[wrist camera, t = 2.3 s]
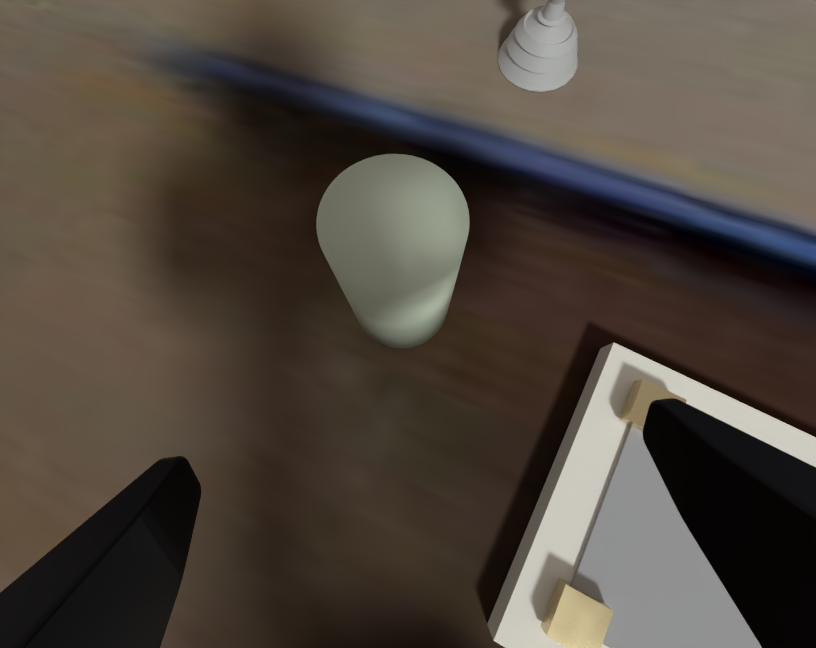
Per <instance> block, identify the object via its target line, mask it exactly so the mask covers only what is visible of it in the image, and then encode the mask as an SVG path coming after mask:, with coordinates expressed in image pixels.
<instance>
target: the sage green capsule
mask: <svg viewBox="0 0 816 648" xmlns="http://www.w3.org/2000/svg"><path fill="white" fill-rule="evenodd" d="M469 223H470V219H469V210H468V206H467V202H466V200H465V197H464V195H463V193H462V191H461V189H460V188H459V186H458V185H457V183H456V182H455V181H454V180H453V179H452V178H451V177H450V176H449V175H448V174H447V173H446V172H445V171H444V170H442V169H441V168H440V167H438V166H437V165H435V164H433V163H431V162H429V161H427V160H424V159H422V158H419V157H415V156H411V155H405V154H384V155H378V156H373V157H370V158H366V159H364V160H362V161H359V162H357V163H355V164H353V165H352V166H350V167H348V168H347V169H346V170H344V171H343V172H342V173H341V174H339V175H338V176H337V177H336V178H335V179H334V180H333V182H332V183H331V184H330V185H329V187H328V188H327V190H326V191H325V193H324V195H323V197H322V199H321V202H320V205H319V208H318V212H317V219H316V229H317V237H318V240H319V244H320V247H321V249H322V251H323V253H324V256H325V258H326V259H327V261H328V263H329V265H330V267H331V269H332V271H333V273H334V275H335V277H336V279H337V281H338V283H339V285H340V287H341V289H342V291H343V293H344V294H345V296H346V298H347V300H348V302H349V304H350V306H351V308H352V310H353V312H354V314H355V316H356V318H357V320H358V322H359V324H360V326H361V327H362V329H363V330H364V332H365V333H366V334H367V335H368V336H369V337H370V338H371V339H373V340H374V341H375V342H377V343H379V344H381V345H383V346H386V347H389V348H394V349H408V348H413V347H416V346H419V345H421V344H424V343H425V342H427V341H429V340H430V339H431V338H432V337H434V336H435V335H436V333H437V332H438V331H439V330H440V328H441V327H442V325H443V323H444V321H445V318H446V315H447V312H448V308H449V304H450V301H451V297H452V293H453V290H454V286H455V282H456V279H457V275H458V271H459V267H460V264H461V260H462V256H463V253H464V249H465V245H466V242H467V238H468V233H469Z"/></svg>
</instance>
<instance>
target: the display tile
mask: <svg viewBox="0 0 816 648" xmlns="http://www.w3.org/2000/svg"><path fill="white" fill-rule="evenodd" d="M668 398H675V399H678V400H681V401H683V402H685V403H687V404H689V405H691V406H693V407H695V408H697V409H699V410H701V411H703V412H705V413H707V414H709V415H711V416H713V417H715V418H717V419H719V420H721V421H723V422H725V423H727V424H729V425H731V426H733V427H735V428H737V429H739V430H741V431H743V432H745V433H747V434H749V435H751V436H753V437H755V438H757V439H759V440H761V441H764V442H766V443H768V444H770V445H772V446H774V447H776V448H778V449H780V450H782V451H784V452H786V453H788V454H790V455H792V456H794V457H796V458H798V459H800V460H802V461H804V462H806V463H808V464H810V465H812V466H814V467H816V437H814V436H812V435H810V434H807V433H805V432H803V431H801V430H799V429H797V428H795V427H793V426H790V425H788V424H786V423H784V422H782V421H780V420H778V419H776V418H773V417H771V416H769V415H767V414H765V413H763V412H761V411H759V410H756V409H754V408H752V407H750V406H748V405H746V404H744V403H742V402H739V401H737V400H735V399H733V398H731V397H729V396H727V395H725V394H722V393H720V392H718V391H716V390H714V389H712V388H710V387H708V386H705V385H703V384H701V383H699V382H697V381H695V380H693V379H691V378H688V377H686V376H684V375H682V374H680V373H678V372H676V371H674V370H671V369H669V368H667V367H665V366H663V365H661V364H659V363H657V362H654V361H652V360H650V359H648V358H646V357H644V356H642V355H640V354H637V353H635V352H633V351H631V350H629V349H627V348H625V347H623V346H620V345H618V344H616V343H611V344H609V345H607V346H605V347H603V348H600V350H599V353H598V355H597V358H596V360H595V362H594V365H593V367H592V370H591V372H590V375H589V377H588V380H587V382H586V384H585V387H584V389H583V392H582V394H581V397H580V399H579V401H578V404H577V406H576V409H575V411H574V414H573V416H572V419H571V421H570V423H569V426H568V428H567V431H566V433H565V436H564V438H563V440H562V443H561V445H560V448H559V450H558V453H557V455H556V458H555V460H554V462H553V465H552V467H551V470H550V472H549V475H548V477H547V479H546V482H545V484H544V487H543V489H542V492H541V494H540V496H539V499H538V501H537V504H536V506H535V509H534V511H533V514H532V516H531V518H530V521H529V523H528V526H527V528H526V531H525V533H524V535H523V538H522V540H521V543H520V545H519V548H518V550H517V553H516V555H515V557H514V560H513V562H512V565H511V567H510V570H509V572H508V574H507V577H506V579H505V582H504V584H503V587H502V589H501V592H500V594H499V596H498V599H497V601H496V604H495V606H494V609H493V611H492V613H491V616H490V618H489V621H488V623H487V625H488V627H489V630H490V632H491V635H492V638H493V640H494V641H495V642H497V643H498V644H500V645H502V646H503V647H505V648H762V647H761V645H760V644H759V642H758V641H757V639H756V637H755V636H754V634H753V632H752V631H751V629H750V628H749V626H748V624H747V623H746V621H745V620H744V618H743V616H742V615H741V613H740V612H739V610H738V608H737V607H736V605H735V603H734V602H733V600H732V599H731V597H730V595H729V594H728V592H727V591H726V589H725V587H724V586H723V584H722V582H721V581H720V579H719V578H718V576H717V574H716V573H715V571H714V570H713V568H712V566H711V565H710V563H709V561H708V560H707V558H706V557H705V555H704V553H703V552H702V550H701V549H700V547H699V545H698V544H697V542H696V541H695V539H694V537H693V536H692V534H691V532H690V531H689V529H688V527H687V526H686V524H685V522H684V521H683V519H682V517H681V515H680V514H679V512H678V510H677V508H676V506H675V504H674V502H673V500H672V498H671V496H670V494H669V492H668V490H667V488H666V486H665V484H664V482H663V480H662V478H661V476H660V474H659V472H658V469H657V467H656V465H655V463H654V461H653V459H652V457H651V455H650V453H649V451H648V449H647V447H646V445H645V443H644V440H643V427H644V423H645V420H646V416H647V412H648V409H649V405H650V404H651V402H652V401H654V400H659V399H668Z"/></svg>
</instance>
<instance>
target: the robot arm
mask: <svg viewBox="0 0 816 648" xmlns="http://www.w3.org/2000/svg"><path fill="white" fill-rule="evenodd" d="M643 440H644V443H645V445H646V447H647V449H648V451H649V453H650V455H651V457H652V459H653V461H654V463H655V465H656V467H657V469H658V472H659V474H660V476H661V478H662V480H663V482H664V484H665V486H666V488H667V490H668V492H669V494H670V496H671V498H672V500H673V502H674V504H675V506H676V508H677V510H678V512H679V514H680V515H681V517H682V519H683V521H684V522H685V524H686V526H687V527H688V529H689V531H690V532H691V534H692V536H693V537H694V539H695V541H696V542H697V544H698V545H699V547H700V549H701V550H702V552H703V553H704V555H705V557H706V558H707V560H708V561H709V563H710V565H711V566H712V568H713V570H714V571H715V573H716V574H717V576H718V578H719V579H720V581H721V582H722V584H723V586H724V587H725V589H726V591H727V592H728V594H729V595H730V597H731V599H732V600H733V602H734V603H735V605H736V607H737V608H738V610H739V612H740V613H741V615H742V616H743V618H744V620H745V621H746V623H747V624H748V626H749V628H750V629H751V631H752V632H753V634H754V636H755V637H756V639H757V641H758V642H759V644H760V645H761V647H762V648H816V467H814V466H812V465H810V464H808V463H806V462H804V461H802V460H800V459H798V458H796V457H794V456H792V455H790V454H788V453H786V452H784V451H782V450H780V449H778V448H776V447H774V446H772V445H770V444H768V443H766V442H764V441H761V440H759V439H757V438H755V437H753V436H751V435H749V434H747V433H745V432H743V431H741V430H739V429H737V428H735V427H733V426H731V425H729V424H727V423H725V422H723V421H721V420H719V419H717V418H715V417H713V416H711V415H709V414H707V413H705V412H703V411H701V410H699V409H697V408H695V407H693V406H691V405H689V404H687V403H685V402H683V401H681V400H678V399H675V398H668V399H659V400H654V401H652V402H651V404H650V405H649V409H648V412H647V416H646V420H645V423H644V427H643ZM200 497H201V486H200V483H199V481H198V479H197V477H196V475H195V473H194V471H193V469H192V468H191V466H190V464H189V462H188V460H187V459H186V458H185V457H182V456H178V457H169V458H163V459H160V460H158V461H157V462H156V463H155V464H153V465H152V466H151V467H150V468H149V469H147V470H146V471H145V472H144V473H143V474H141V475H140V476H139V477H138V478H137V479H135V480H134V481H133V482H132V483H131V484H130V485H128V486H127V487H126V488H125V489H124V490H122V491H121V492H120V493H119V494H118V495H116V496H115V497H114V498H113V499H112V500H110V501H109V502H108V503H107V504H106V505H104V506H103V507H102V508H101V509H100V510H98V511H97V512H96V513H95V514H94V515H93V516H91V517H90V518H89V519H88V520H87V521H85V522H84V523H83V524H82V525H81V526H79V527H78V528H77V529H76V530H75V531H73V532H72V533H71V534H70V535H69V536H67V537H66V538H65V539H64V540H63V541H61V542H60V543H59V544H58V545H57V546H56V547H54V548H53V549H52V550H51V551H50V552H48V553H47V554H46V555H45V556H44V557H42V558H41V559H40V560H39V561H38V562H36V563H35V564H34V565H33V566H32V567H30V568H29V569H28V570H27V571H26V572H25V573H23V574H22V575H21V576H20V577H19V578H17V579H16V580H15V581H14V582H13V583H11V584H10V585H9V586H8V587H7V588H5V589H4V590H3V591H2V592H1V593H0V648H160V646H161V642H162V639H163V636H164V633H165V630H166V627H167V624H168V621H169V618H170V615H171V612H172V609H173V606H174V603H175V600H176V597H177V594H178V590H179V587H180V584H181V581H182V577H183V573H184V569H185V565H186V561H187V556H188V552H189V547H190V543H191V538H192V534H193V529H194V525H195V520H196V516H197V511H198V507H199V502H200Z"/></svg>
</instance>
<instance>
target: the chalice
mask: <svg viewBox="0 0 816 648" xmlns="http://www.w3.org/2000/svg"><path fill="white" fill-rule="evenodd" d="M564 5H565V0H548V2H547V4H546V6H540V7H537V8H534V9H532V10H531V11H529V12H528V13H527V14H525V15H524V16H523V17H522V18H521V19H520V20H519V21H518V23H517V25H516V27H515V28H514V29H513V30H512V31H511V33H510V35H509V37H508V38H507V39H506V40H505V41H504V42H503V44H502V46H501V47H500V49H499V53H498V63H499V66H500V70H501V71H502V73H503V74H504V76H505V77H506V78H507V79H508V80H509V81H510V82H512V83H513V84H515V85H516V86H518V87H521V88H523V89H526V90H529V91H539V92H543V91H549V90H554V89H557V88H559V87H561V86H563V85H565V84H566V83H567V82H568V81H569V80H570V79H571V78H572V77H573V76H574V74H575V71H576V69H577V63H578V57H577V46H578V44H577V34H578V32H577V29H576V26H575V24H574V22H573V19H572V18H571V17H570V15H569V14H568V13H567V12H565V10H564Z"/></svg>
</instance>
